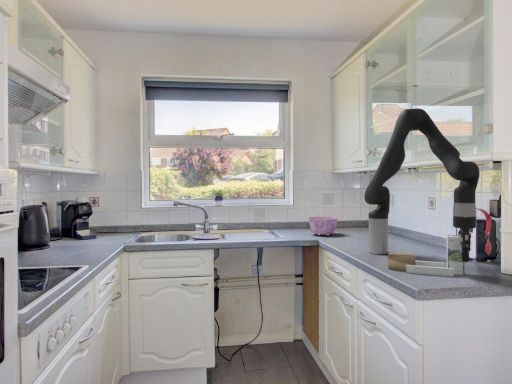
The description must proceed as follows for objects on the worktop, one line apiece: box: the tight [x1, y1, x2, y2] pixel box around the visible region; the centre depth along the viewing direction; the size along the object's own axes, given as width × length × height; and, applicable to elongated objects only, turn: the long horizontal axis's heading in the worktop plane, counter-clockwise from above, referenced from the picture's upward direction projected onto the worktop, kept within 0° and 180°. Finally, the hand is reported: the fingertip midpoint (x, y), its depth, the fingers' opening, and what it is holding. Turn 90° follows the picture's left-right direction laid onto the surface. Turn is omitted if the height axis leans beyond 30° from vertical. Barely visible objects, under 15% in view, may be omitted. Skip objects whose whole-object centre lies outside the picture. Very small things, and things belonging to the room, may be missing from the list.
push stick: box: [387, 252, 417, 270], centre depth 144 cm, size 3×10×6 cm, turn 66°
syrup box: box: [446, 234, 466, 276], centre depth 137 cm, size 6×6×14 cm
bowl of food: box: [307, 216, 339, 235], centre depth 245 cm, size 20×20×12 cm
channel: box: [392, 260, 455, 278], centre depth 141 cm, size 11×21×3 cm, turn 66°
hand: (464, 259), depth 135 cm, fingers closed on syrup box, 5 cm apart
